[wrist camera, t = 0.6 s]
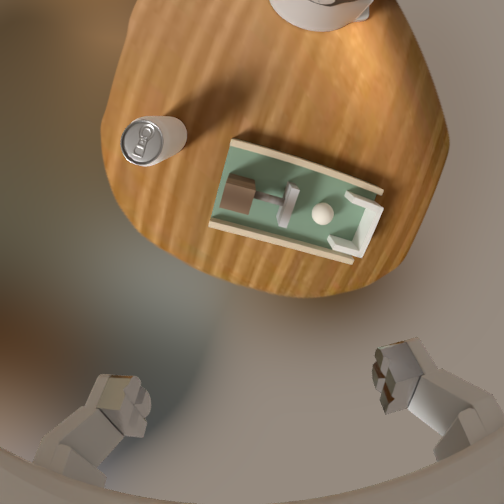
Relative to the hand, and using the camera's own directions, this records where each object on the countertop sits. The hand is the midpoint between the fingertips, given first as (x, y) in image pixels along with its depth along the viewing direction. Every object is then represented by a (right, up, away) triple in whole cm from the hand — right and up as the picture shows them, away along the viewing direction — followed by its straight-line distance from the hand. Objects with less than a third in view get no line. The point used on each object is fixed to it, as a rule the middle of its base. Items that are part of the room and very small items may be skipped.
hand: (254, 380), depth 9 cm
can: (-13, +22, +33) cm, 42 cm away
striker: (+1, +13, +35) cm, 38 cm away
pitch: (+7, +12, +37) cm, 40 cm away
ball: (+11, +10, +35) cm, 38 cm away
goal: (+17, +9, +38) cm, 42 cm away
